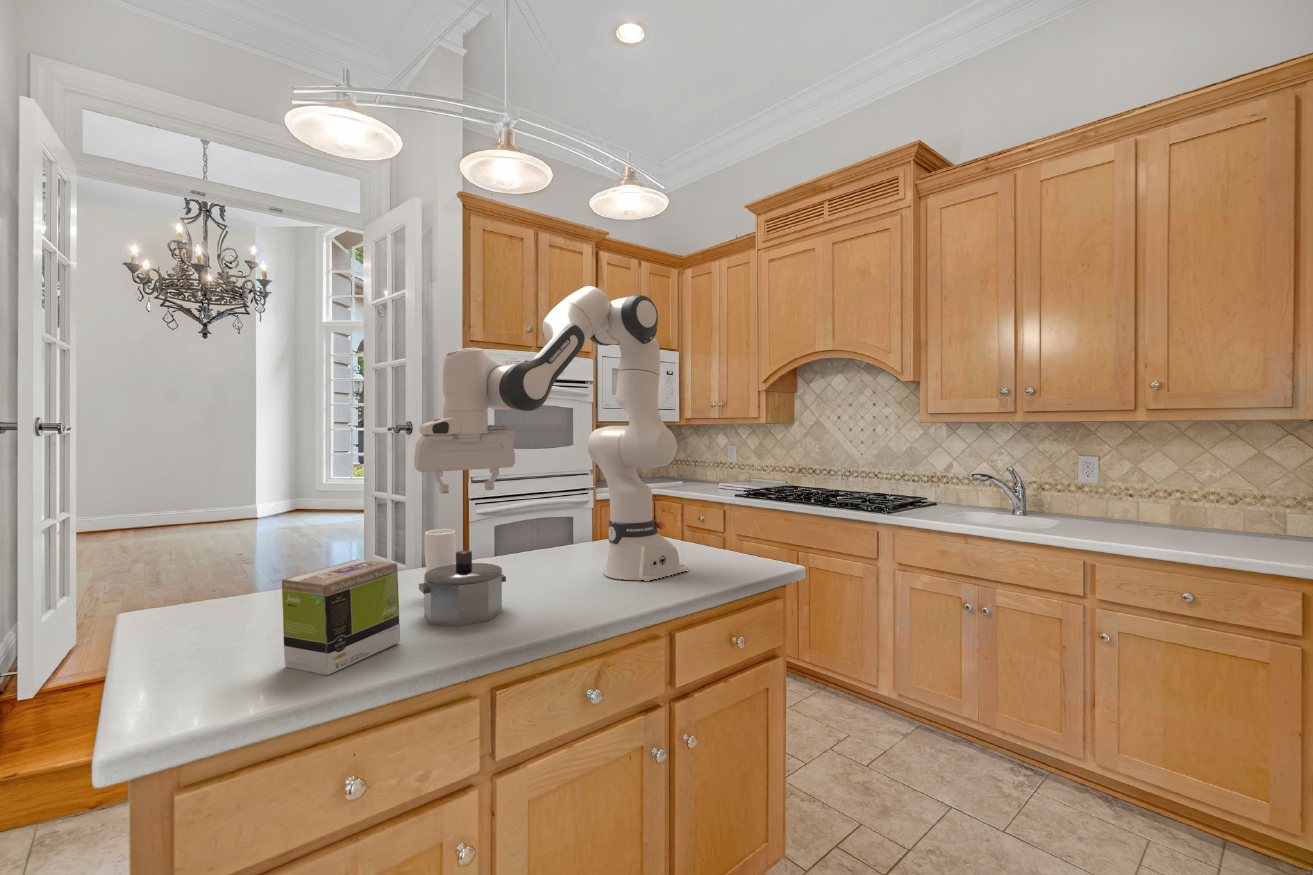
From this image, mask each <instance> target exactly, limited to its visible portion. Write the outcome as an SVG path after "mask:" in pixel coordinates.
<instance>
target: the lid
mask: <svg viewBox="0 0 1313 875" xmlns="http://www.w3.org/2000/svg"><path fill="white" fill-rule="evenodd" d="M501 574H502V575H503V568H502V567H501V566H499V565H496V564H492V563H483V562H473V551H471V550H460V551H456V555H455V564H453V565H447V566H442V567H438V568H434V569H432V570H429V571H428V572H426V571H425V573H424V577H425V581H426V582H428V583H431V584H437V585H468V584H476V583H482V582H486V581H490V580H493V579H496V578H498V577H499V576H501Z"/></svg>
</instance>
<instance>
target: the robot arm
mask: <svg viewBox="0 0 1313 875" xmlns="http://www.w3.org/2000/svg"><path fill="white" fill-rule="evenodd" d="M658 324H659V316H658V310H657V307H656V305H655V303H654V301H653V300H652V299H651V298H650V297H648V296H646V295H640V294H639V295H638V294H634V295H629V296H625V297H621V298H617V299H613V300H611V301H609V298H608V296H607V295H606V293H605V292H604V291H603V290H601V289H600V288H598V287H595V286H590V285H589V286H587V285H586V286H584V287H582V288H580V289H577V290H576V291H574V292H572V293H571V294H569V295H568V296H566V297H565V298H564V299H562V300H561V301H560V302H559V303H558V304H557V305H555V306H554V307H553V308H552V309H551V310H550V311H549V313H548V314H547V315H546V316H545V318H544V320H543V321H542V333H543V336H544V339H545V340H546V341H547V344H546V345H545V346H544V347H543V348H542V349H541V351H539V352H538V354H536V356H535V357H533V358H532V359H530V360H527V361H524V362H522V361H521V362H519V363H514V364H505V365H504V364H503V363H500V362H499V361H497V360H495V359H493V358H492V357H490V356H489V354H487V353H486V352H485V351H484V350H483V349H482V348H480V347H467V348H466V347H465V348H459V349H453V350H451V351H449V352H448V353H447V354H446V355H445V358H444V362H443V368H442V369H443V370H442V392H443V396H444V406H443V410H442V411H443V412H442V414H443V415H442V418H441V417H440V418H436V419H434V420H431V421H428V422H425V423H422V424H421V425H420V426H419V433H420V434H421V436H419V437H418V438H417V440H416V443H415V446H414V447H415V449H414V457H413V458H414V461H413V462H414V463H413V465H414V469H416V470H417V472H419V473H432V477H433V478H434V480H435V481H436V483H437V484H438V491H439V494H440V495H441V494H444V495H445V494H449V493H450V492H449V486H450V484H447V483H445V482H444V481H443V480H442V477H443V476H444V475H443V474H444V472H453V471H454V472H455V471H467V470H469V471H470V470H471V471H472V470H488V469H489V473H490V477H489V479H488V480H485V481H484V490H485V491H493V490H495V482H496V480H497V478H498V476H499V474H500V469H504V468H505V469H507V468H513V467H514V465H515V464H516V452H515V447H514V443H515V432H514V431H515V430H513V428H511V427H510V426H508V425H507V424H501V425H500V424H499V425H496V424H489V420H488V417H489V416H488V413H489V412H488V408H489V409H492V410H496V411H497V410H498V411H499V410H500V411H501V410H503V411H504V410H505V411H512V410H513V411H516V410H517V411H524V412H530V411H534V410H537V409H539V408H541V407H542V406H543V405H544V404H545V402H546V401H547V399H548V398H549V395H550V393H551V391H552V388H553V386H554V385H555V382H556V381H557V379H558V378H559V377H560V375H561V374H562V373H563V372H564V371H565V369H566V368H567V367H568V366H569V365H570V364H571V362H572V361H573V360H574V359H575V357H577V355H578V354H579V353H580V352H581V350H582V348H583V346H584V345H585V344H586V343H587V342H588V341H589V340H590V341H591V342H592V343H594V344H596V345H599V346H611V345H616V344H618V347H619V352H620V358H619V359H620V360H619V365H618V370H617V371H618V372H617V373H618V374H617V383H616V389H615V390H616V391H615V401H616V403H617V405H618V406H619V407H620V408H621V409H622V410H624V411H625V412H627V415H628V420H629V422H628V423H629V424H628V425H607V426H603V427H599V428H596V429H594V430H593V431H592V432H591V434H590V435H589V437H588V440H587V452H588V456H590V459H591V460H592V461H593V462H594V463H595V464H596V465H597V466H598V467H599V469H600V470H601V472H602V474H603V476H604V478H605V482H606V484H607V488H608V494H609V510H610V512H609V516H610V517H609V520H608V529H607V531H608V532H607V533H608V534H607V535H608V542H609V543H608V553H607V559H606V560H607V561H606V564H605V569H604V572H603V574H604V576H606V577H608V578H611V579H616V580H622V579H623V581H624V580H625V581H641V580H644V581H643V582H651V581H650V580H653V579H657V580H659V579H658V578H661V579H663V578H662V577H664V578H666V577H665V576H668V577H671V576H670V575H672V574H676V575H678V574H677V573H679V572H683V571H686V570H688V571H689V569H688V566H687V565H686V564H683V563H681V562H680V556H679V552H678V549H677V548H676V546H675V545H674V544H672V543H671V542H670V541H669V540H668V539H666V538H665V537H664V536H662V535H661V534H660V533H659V531H658V529H660V530H664V529H665V528H666V523H665V521H663V520H662V521H661V520H654V519H653V493H652V489H651V488H650V486H648V484H647V483H645V482H643V481H642V480H641V478H640V476H638V475H639V474H638V473H637V468H639V469H656V468H660V467H667V466H668V465H670V464H671V463H672V462H673V460H674V459H675V456H676V454H677V450H678V444H677V439H676V436H675V435H674V433H673V431H671V429H669V428H668V427H667V426H666V424H665V423H664V422H663V419H662V417H661V413H660V410H659V402H658V401H659V400H658V399H659V387H660V386H659V385H660V384H659V383H660V374H661V372H660V371H661V353H660V344H659V342H658V340H657V338H655V337H656V335H657V332H658ZM672 576H673V575H672ZM653 581H654V580H653Z"/></svg>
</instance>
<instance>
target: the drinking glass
mask: <svg viewBox="0 0 1313 875" xmlns="http://www.w3.org/2000/svg"><path fill="white" fill-rule="evenodd" d="M423 536H424V541H423V542H424V544H423V547H424V549H423V550H424V559H425V570H426V571H425V573H426V572H428V571H429V570H432V569H434V568H438V567H442V566H447V565H453V564H456V552H457V536H456V530H455V529H452V528H451V529H450V528H440V529H439V528H437V529H431V530H427V531H425V532H424V535H423Z"/></svg>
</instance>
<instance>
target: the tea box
mask: <svg viewBox="0 0 1313 875" xmlns="http://www.w3.org/2000/svg"><path fill="white" fill-rule="evenodd" d="M398 572H399V571H398V563H397V562H387V561H373V560H366V559H365V560H363V559H358V558H357V559H353V560H349V561H347V562H342V563H339V564H338V563H337V564H334V565H332V566H327V567H324V568H320V569H319V568H318V569H316V570H313V571H309V572H305V573H301V574H298V575H294V576H291V577H287V578H283V579H282V580H281V594H282V595H281V597H282V617H283V618H282V624H283V625H282V628H283V632H282V633H283V651H284V652H283V654H284V666H285V667H286V668H288V667H290V669H292V668H293V670H297V669H298V671H302V670H304V671H303V672H308V673H311V672H314V673H313V674H317V675H323V676H329V675H331V674H333V673H335V672H338V671H341V670H342V669H345V668H346V667H349V666H351V665H353V664H356V663H358V662H359V661H362V660H365V659H366V658H368V657H371V656H373V655H375V654H378V653H379V652H382V651H384V650H386V649H389V648H390V647H392V646H395V645H397V644H400V642H401V633H400V632H401V631H400V630H401V629H400V626H401V625H400V604H399V602H400V600H399V599H400V598H399V578H398V576H399V575H398Z"/></svg>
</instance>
